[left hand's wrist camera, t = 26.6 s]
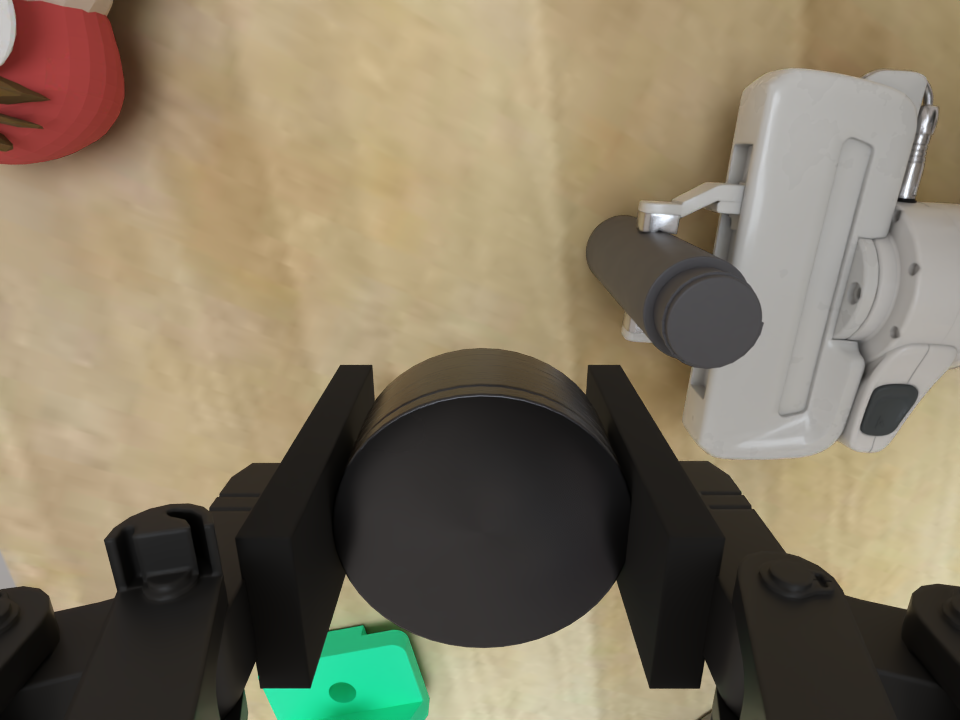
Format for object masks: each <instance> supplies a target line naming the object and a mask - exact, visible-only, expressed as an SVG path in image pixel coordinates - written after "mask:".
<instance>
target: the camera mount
mask: <svg viewBox="0 0 960 720" xmlns="http://www.w3.org/2000/svg"><path fill="white" fill-rule="evenodd" d="M258 679H259V677H258ZM263 690H264V692H265V694H266V696H267V698H268V700H269V703H270V705H271V707H272V709H273V711H274V713H275V715H276V718H277V720H425V719H426V717H427V716H428V710H429V699H430V698H429V695H428V692H427V690H426V687H425V684H424V681H423V678H422V675H421V672H420V669H419V666H418V664H417V661H416V658H415V655H414V652H413V649H412V646H411V643H410V641H409V638H408V636H407V635H406V634H405V633H404V632H402V631H400V630H389V631H384V632H378V633H373V634H367V633H366V631H365V628H364V625H362V626H357V627H351V628H346V629H340V630H335V631H330V632H328V633H327V637H326V640H325V643H324V646H323V650H322V653H321V656H320V660H319V663H318V666H317V669H316V673H315V676H314V679H313V682H312V686H311V689H263Z"/></svg>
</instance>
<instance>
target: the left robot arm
mask: <svg viewBox="0 0 960 720" xmlns="http://www.w3.org/2000/svg"><path fill="white" fill-rule="evenodd" d="M586 396H587V397H588V399H589V400H590V402H591V403H592V405H593V406H594V407H595V409H596V411H597V413H598V415H599V417H600V419H601V421H602V424H603V426H604V428H605V431H606V433H607V435H608V438H609V440H610V442H611V445H612V447H613V449H614V452H615V454H616V456H617V459H618V461H619V464H620V466H621V469H622V471H623V473H624V475H625V478H626V480H627V483H628V487H629V490H630V493H631V497H632V503H631V514H630V524H629V534H628V543H627V553H626V561H625V564H624V566H623V568H622V571H621V573H620V575H619V577H618V578H617V583H618V587H619V590H620V593H621V596H622V600H623V603H624V606H625V610H626V613H627V616H628V619H629V623H630V626H631V629H632V632H633V636H634V639H635V642H636V645H637V649H638V652H639V655H640V658H641V662H642V665H643V668H644V671H645V675H646V678H647V681H648V684H649V688H650V689H700V685H701V679H702V673H703V667H704V662H705V661H706V663H707V665H708V668H709V670H710V672H711V674H712V677H713V679H714V681H715V684H716V690H715V695H714V701H713V706H712V712H711V713H709V714H708V715H706V716H705V717H703V718H702V719H701V720H960V587H959V586H951V585H944V584H933V585H926V586H921V587H920V588H918V589H917V590H916V591H915V592H913V593H912V596H911V599H910V603H909V606H908V609H907V610H906V609H901V608H897V607H892V606H888V605H883V604H878V603H874V602H869V601H864V600H860V599H857V598H853V597H849V596H846V595H844V592H843V590H842V589H841V587H840V586H839V584H838V583H837V582H836V580H835V579H834V577H832V576H831V575H830V574H828V573H827V572H826V571H825V570H823V569H822V568H821V567H819V566H818V565H816V564H814V563H812V562H810V561H807V560H805V559H803V558H801V557H799V556H795V555H791V554H787V553H786V552H785V551H784V549H783V548H782V547H781V545H780V544H779V543H778V541H777V540H776V539H775V537H774V536H773V534H772V533H771V532H770V530H769V529H768V528H767V526H766V525H765V524H764V522H763V521H762V519H761V518H760V517H759V515H758V514H757V513H756V511H755V510H754V509H752V508H751V504H750V503H749V502H748V500H747V499H746V498H745V496H744V495H741V491H740V490H739V488H738V487H737V485H736V484H735V483H734V481H733V480H732V479H731V477H730V476H729V475H728V474H726V473H725V472H723V471H722V470H720V469H719V468H717V467H716V466H714V465H713V464H711V463H710V462H708V461H678V459H677V458H676V456H675V454H674V453H673V451H672V449H671V448H670V446H669V445H668V443H667V441H666V440H665V438H664V436H663V435H662V433H661V431H660V430H659V428H658V427H657V425H656V423H655V422H654V420H653V418H652V417H651V415H650V413H649V412H648V410H647V409H646V407H645V405H644V404H643V402H642V400H641V399H640V397H639V395H638V394H637V392H636V391H635V389H634V387H633V386H632V384H631V382H630V381H629V379H628V377H627V376H626V374H625V372H624V371H623V369H622V368H621V366H620V365H588V374H587V389H586ZM374 402H375V398H374V383H373V368H372V365H340V367H339V368H338V370H337V371H336V373H335V375H334V376H333V378H332V380H331V381H330V383H329V385H328V386H327V388H326V389H325V391H324V393H323V394H322V396H321V398H320V399H319V401H318V403H317V404H316V406H315V407H314V409H313V411H312V412H311V414H310V416H309V417H308V419H307V421H306V422H305V424H304V425H303V427H302V429H301V430H300V432H299V434H298V435H297V437H296V439H295V440H294V442H293V444H292V445H291V447H290V448H289V450H288V452H287V453H286V455H285V457H284V458H283V460H282V462H281V463H252V464H251V465H249V466H248V467H246V468H245V469H243V470H242V471H240V472H239V473H237V474H236V475H234V476H233V477H231V479H230V480H229V482H228V483H227V484H226V486H225V487H224V488H223V490H222V491H221V492H220V496H219V497H217V498H216V499H215V501H214V502H213V503H212V505H211V506H210V508H209V511H208V510H207V509H206V508H204V507H202V506H198V505H193V504H169V505H164V506H160V507H156V508H151V509H148V510H146V511H143V512H141V513H139V514H136V515H134V516H131V517H129V518H128V519H126V520H125V521H124V522H122V523H121V524H119V525H118V526H116V527H115V528H113V530H112V531H111V532H110V533H109V534H108V536H107V537H106V538H105V539H104V542H105V546H106V550H107V554H108V557H109V561H110V565H111V569H112V573H113V576H114V580H115V584H116V588H117V593H116V596H115V598H113V599H109V600H106V601H102V602H98V603H94V604H89V605H85V606H80V607H75V608H71V609H66V610H62V611H57V612H54V611H53V607H52V604H51V601H50V598H49V596H48V595H47V594H46V593H45V592H43V591H42V590H41V589H39V588H32V587H25V586H22V587H14V588H7V589H1V590H0V720H247V719H248V708H247V701H246V695H245V690H244V688H245V685H246V683H247V681H248V678H249V676H250V674H251V671H252V669H253V667H254V664H255V662H256V665H257V671H258V677H259V683H260V689H311V686H312V682H313V679H314V676H315V673H316V669H317V666H318V663H319V660H320V656H321V653H322V650H323V646H324V643H325V640H326V637H327V633H328V630H329V627H330V624H331V620H332V617H333V614H334V611H335V607H336V604H337V601H338V598H339V594H340V591H341V588H342V585H343V581H344V578H345V575H346V573H345V571H344V569H343V567H342V565H341V562H340V559H339V557H338V554H337V551H336V547H335V542H334V537H333V530H332V511H333V503H334V497H335V494H336V490H337V487H338V483H339V481H340V478H341V476H342V473H343V471H344V468H345V466H346V463H347V461H348V459H349V456H350V454H351V451H352V449H353V446H354V444H355V441H356V439H357V436H358V434H359V432H360V429H361V427H362V424H363V422H364V420H365V418H366V416H367V413H368V411H369V410H370V408H371V407H372V405H373V403H374Z"/></svg>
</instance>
